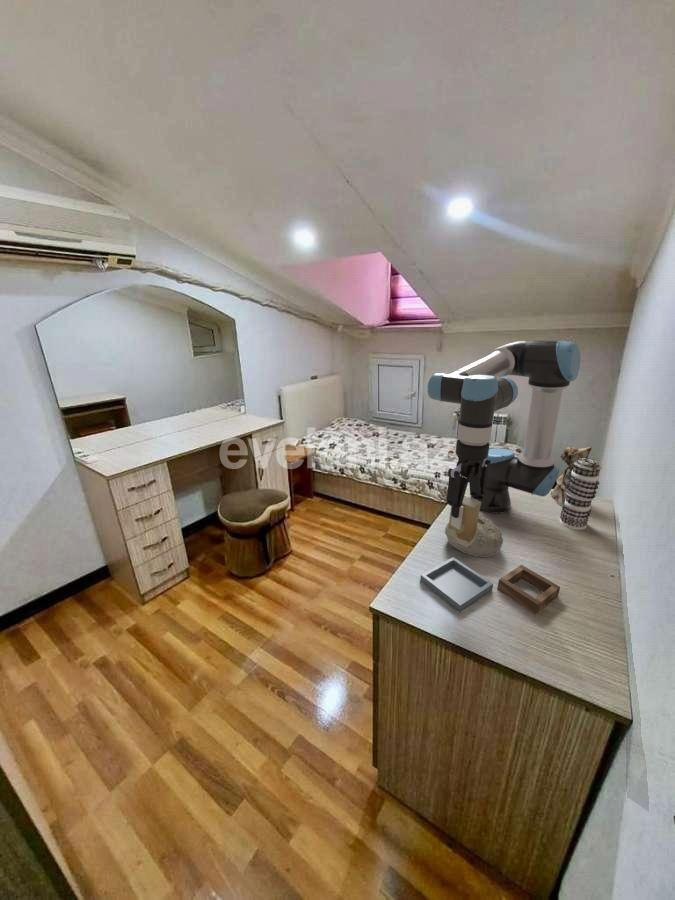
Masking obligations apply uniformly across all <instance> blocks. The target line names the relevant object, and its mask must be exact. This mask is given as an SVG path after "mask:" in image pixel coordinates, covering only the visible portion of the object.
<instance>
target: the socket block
mask: <svg viewBox="0 0 675 900" xmlns="http://www.w3.org/2000/svg"><path fill="white" fill-rule="evenodd" d="M521 580H522V581H524V583H527V584H528V585H530V586H532V587H534V588H535V589H538V590H539V591H541V592H542V593H541V594H539V595H537V597H534V596H533V595H531V594H529V593H527V592H526V591H525V590H523V589H521V588H520V587H518V586H516V585H515V584H516V583H518V582H520V581H521ZM496 590H497V591H499V592H500V593H502V594H504V595H505V596H506V597H508V598H510V599H511V600H512V601H513V602H515V603H516V604H518V605H520V606H521V607H523V608H524V609H526V610H527V611H529V612H530V613H532V614H533V615H535V616H537V615H538V614H539V613H540V612H542V611H543V609H545V608H546V607H548V606H549V605H550V604H552V603H553V601H555V600H556V599H557V598H558V597H559V593H560V590H561V586H560V585H558V584H556V583H554V582H552V581H551V580H549V579H548V578H546V577H544V576H543V575H540V574H539V573H537V572H535V571H533V570H531V569H530V568H528V567H527V566H524V565H523V564H520V565H518V566H517V567H516V568H514V569H512V570H511V571H509V572H508V573H506V574H505V575H504V576H501V577H500V578H499V579H498V583H497V588H496Z"/></svg>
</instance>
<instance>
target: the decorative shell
mask: <svg viewBox="0 0 675 900" xmlns="http://www.w3.org/2000/svg"><path fill="white" fill-rule="evenodd" d="M445 526H446V527H445V529H444V533H445V535H446V538H447V534H448V526H449V522H448V523H447V524H446V525H445ZM447 541H448V543H449V544H450V545H451V546H452V547H453V548H455V549H456V550H457V551H458V550H459V552H462V553H464V554H466V555H469V556H473V557H474V556H475V557H481V558H486V557H490V556H493V555H496V554H497V553H498V552H499V551H500V550H501V548H502V545H503V543H504V538H503V533H502V532H501V531H500V529H499V528H498V527H497V525H496V524H495V523H494V522H493V521H491V520H490V519H487V518H486V517H484V516H482V515H479V517H478V523H477V529H476V535H475V541H474V542H473V543H472V544H471V545H470V546H469V547H466V546H464V545H461V544H459V543H457V542H455V541H452V540H450V539H448V538H447Z"/></svg>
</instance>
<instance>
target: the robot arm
mask: <svg viewBox="0 0 675 900" xmlns="http://www.w3.org/2000/svg"><path fill="white" fill-rule="evenodd" d="M580 367H581V350H580V347H579V345H578V344H577V343H576V342H573V341H566V340H531V339H524V340H523V339H522V340H518V341H517V340H516V341H514V342H513V341H512V342H510V343H506V344H503V345H500V346H498V347H496V348H494V349H492V350H491V351H489V352H488V354H487V356H485V357H483V358H482V357H481V358H480V359H478V360H476V361H474V362H471V363H469V364H467V365H465V366H463V367H461V368H459V369H457V370H454V371H453V372H450V373H443V372H441V373H440V372H439V373H437V372H436V373H434V374H433V375H431V376H430V378H429V379H428V382H427V395H428V396H429V398H430V399H431V400H435V401H439V402H442V403H443V402H444V403H452V404H456V405H457V404H458V405H460V408H459V418H458V427H457V428H458V429H457V440H456V445H455V455H456V456H457V458H458V460H457V462H456V466H455V467H454V468H448V470H447V473H448V483H447V492H446V493H447V495H446V501H445V502H446V503H445V504H447V505H449V506H450V507H451V506H452V511H451V510H450V512H451V516H452V517H451V525H452V526H454V527H455V528H457V529H461V524H462V516H463V508H464V507H463V506H461V505H462V502H463V498H464V496H465V495H466V491H467V488H468V486H469V494H470V495H469V496H468V497H470V498H472V499H475V500H478V501H481V506H480V511H482V512H485V513H491V514H503V513H507V512H508V511H510V509H511V506H512V505H511V504H512V500H511V496H510V491H509V488H512V489H515V490H518V491H521V492H524V493H528V494H530V495H535V496H538V497H546V496H547V495H549V493H551V490H552V489H553V487H554V485H555V483H556V480H557V479H558V476H559V473H560V468H559V467H558V466H556V465H555V464H556V463H555V462H556V460H555V459H554V458H553V456H552V451H553V446H554V445H553V444H554V439H555V435H556V428H557V424H558V419H559V418H558V417H559V412H560V409H561V402H562V395H563V391H564V390H566V388H568V387H569V386H570V383H571V382H574V381H575V380H576V379H577V378H578V376H579V371H580ZM506 376H518V377H525V378H526V377H528V383H527V384H528V385H529V386H530V387H531V389H532V392H531V396H530V397H531V398H530V403H529V404H530V405H529V412H528V418H527V425H526V431H525V436H524V437H525V438H524V445H523V450H522V452H521V453H519V454H518V455H517V456H515V451H513V450H511V449H508V448H506V449H505V448H490V445H491V444H490V442H491V437H492V428H493V423H494V422H493V421H494V416H495V412H496V411H499V410H502V409H505V408H507V407H509V405H511V404H513V403H514V402H515V401H516V399H517V398H518V394H519V388H518V384H517V383H516V382H515V381H514V380H513V379H511V378H509V377H506ZM468 484H469V485H468Z"/></svg>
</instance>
